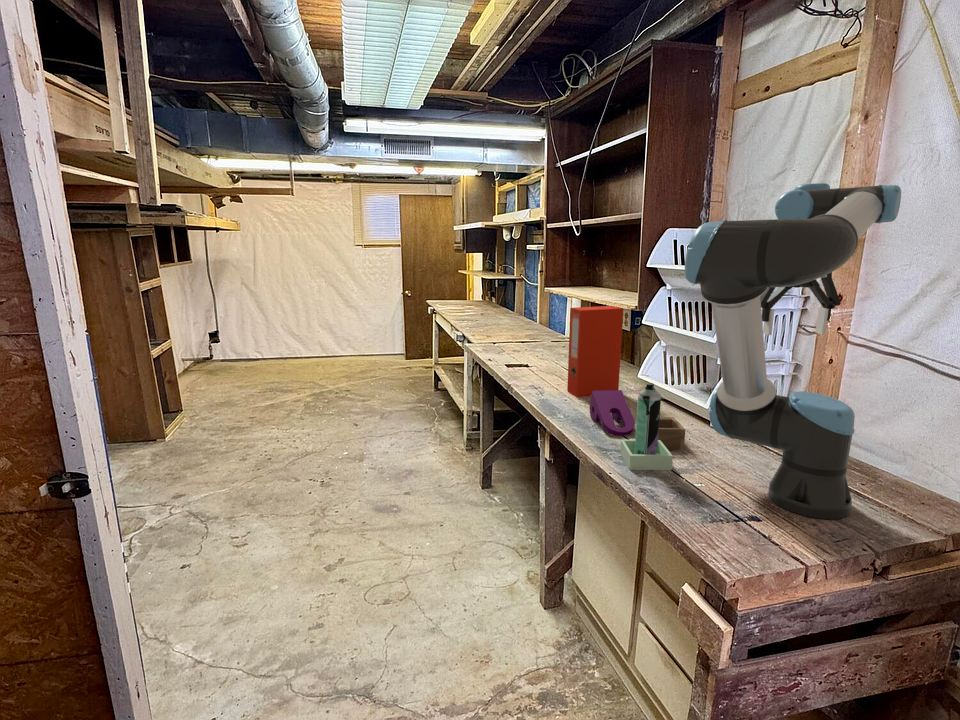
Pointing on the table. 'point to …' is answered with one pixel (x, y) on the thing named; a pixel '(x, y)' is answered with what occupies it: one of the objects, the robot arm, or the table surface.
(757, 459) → the table surface
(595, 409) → the mounting bracket
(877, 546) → the table surface
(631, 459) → the parts tray
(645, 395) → the spray can
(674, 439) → the brown open-top box
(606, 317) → the file binder
